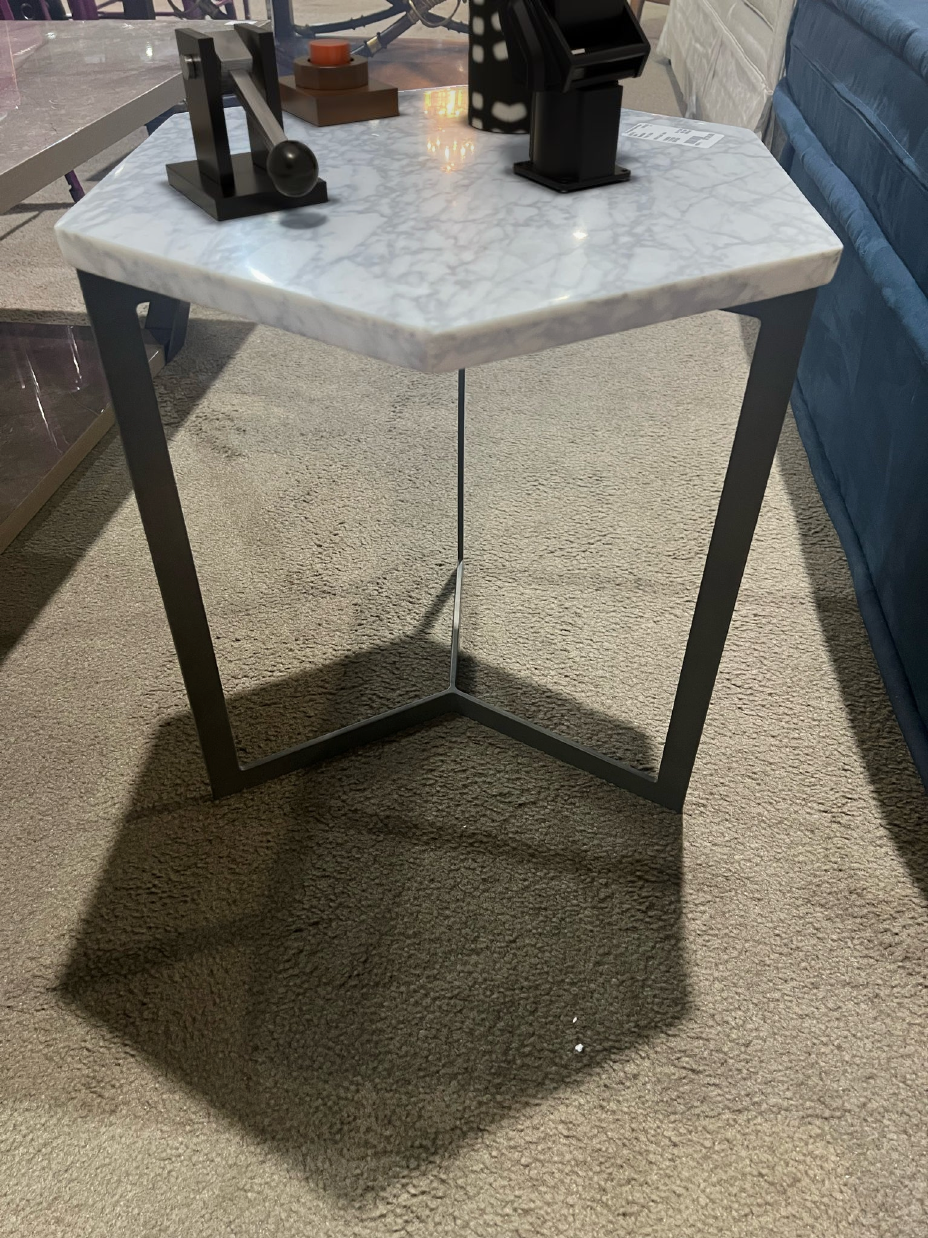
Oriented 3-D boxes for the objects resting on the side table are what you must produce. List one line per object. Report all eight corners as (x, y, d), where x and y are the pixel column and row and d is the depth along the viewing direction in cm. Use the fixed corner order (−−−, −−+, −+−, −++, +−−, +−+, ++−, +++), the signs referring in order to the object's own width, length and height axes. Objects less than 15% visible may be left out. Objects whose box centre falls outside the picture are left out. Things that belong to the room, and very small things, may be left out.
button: (358, 65, 82) (356, 43, 81) (321, 70, 81) (319, 46, 80) (340, 59, 84) (338, 37, 83) (303, 63, 83) (301, 40, 82)
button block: (399, 115, 83) (397, 63, 81) (318, 126, 80) (313, 73, 77) (348, 94, 90) (345, 46, 87) (272, 104, 86) (266, 54, 84)
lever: (324, 203, 59) (330, 160, 56) (278, 211, 58) (281, 168, 55) (241, 68, 63) (243, 21, 60) (196, 73, 62) (195, 26, 59)
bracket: (328, 201, 64) (313, 35, 58) (218, 220, 61) (189, 47, 54) (270, 166, 70) (252, 14, 64) (168, 183, 67) (137, 24, 61)
